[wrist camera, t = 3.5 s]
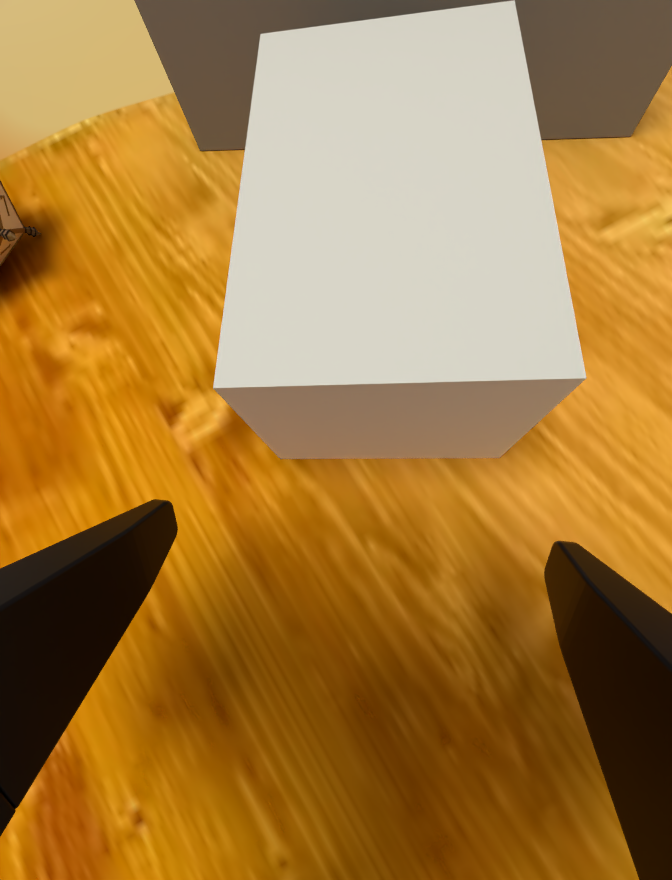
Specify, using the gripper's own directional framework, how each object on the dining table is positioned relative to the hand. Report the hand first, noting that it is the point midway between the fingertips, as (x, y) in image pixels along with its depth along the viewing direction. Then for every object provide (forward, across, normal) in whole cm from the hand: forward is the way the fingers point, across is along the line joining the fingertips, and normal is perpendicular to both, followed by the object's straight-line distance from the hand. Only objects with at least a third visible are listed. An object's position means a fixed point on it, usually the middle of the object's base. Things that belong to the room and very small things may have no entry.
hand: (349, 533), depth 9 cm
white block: (+14, 0, -3) cm, 15 cm away
